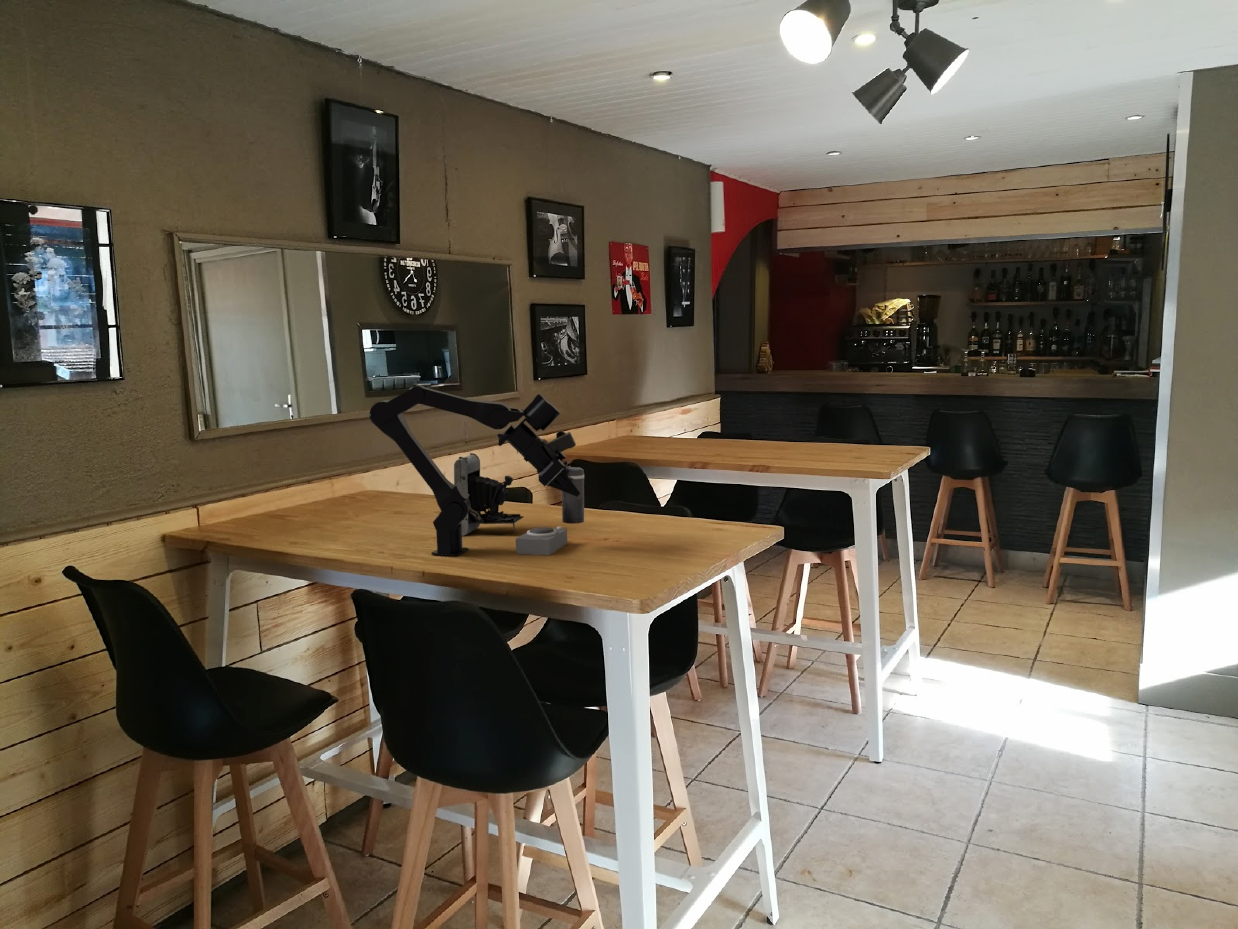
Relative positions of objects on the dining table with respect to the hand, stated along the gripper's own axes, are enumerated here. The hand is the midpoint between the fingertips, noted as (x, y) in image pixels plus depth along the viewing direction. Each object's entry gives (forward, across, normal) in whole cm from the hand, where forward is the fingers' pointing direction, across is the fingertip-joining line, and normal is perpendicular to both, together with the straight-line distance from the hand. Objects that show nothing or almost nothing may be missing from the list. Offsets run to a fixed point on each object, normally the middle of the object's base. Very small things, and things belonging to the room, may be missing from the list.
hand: (578, 493), depth 204 cm
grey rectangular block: (+3, +1, +15) cm, 16 cm away
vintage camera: (-6, +21, +26) cm, 34 cm away
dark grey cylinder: (+4, 0, +6) cm, 7 cm away
